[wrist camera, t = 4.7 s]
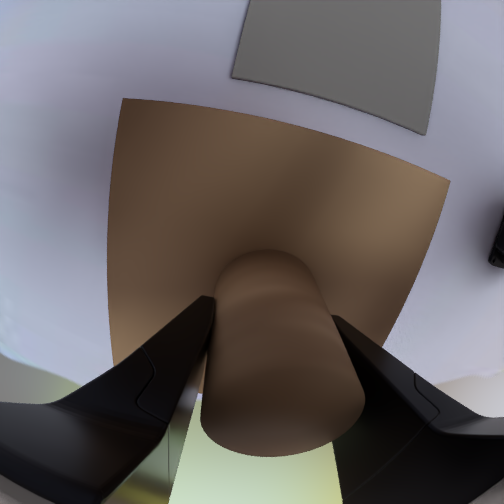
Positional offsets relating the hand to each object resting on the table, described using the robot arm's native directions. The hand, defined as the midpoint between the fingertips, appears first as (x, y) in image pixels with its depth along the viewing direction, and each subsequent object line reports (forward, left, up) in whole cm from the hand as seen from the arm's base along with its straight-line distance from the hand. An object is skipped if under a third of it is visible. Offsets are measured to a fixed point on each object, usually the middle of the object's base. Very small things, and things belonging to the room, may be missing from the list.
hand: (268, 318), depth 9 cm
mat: (-4, -16, -12) cm, 20 cm away
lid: (0, 0, -2) cm, 2 cm away
